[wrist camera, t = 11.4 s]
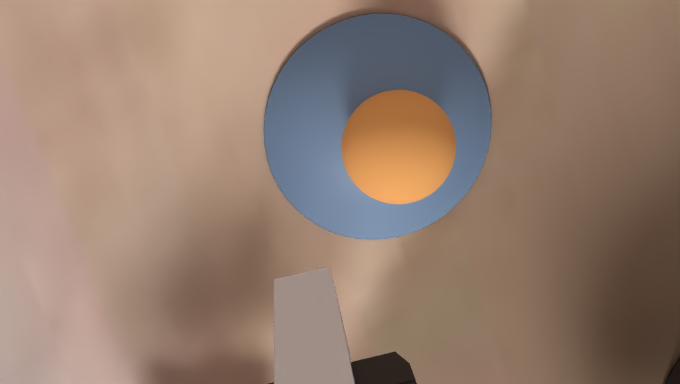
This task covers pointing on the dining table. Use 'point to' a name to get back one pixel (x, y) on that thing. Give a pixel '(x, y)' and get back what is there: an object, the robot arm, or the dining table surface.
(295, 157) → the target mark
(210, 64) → the dining table surface
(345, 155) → the ball
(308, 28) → the dining table surface
